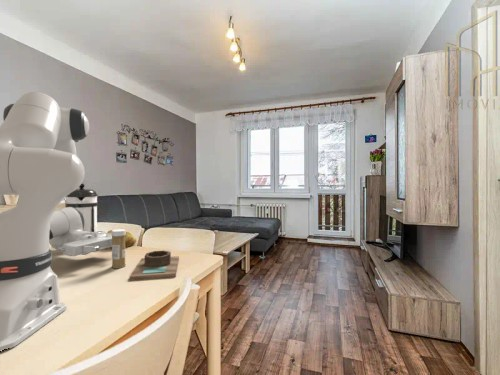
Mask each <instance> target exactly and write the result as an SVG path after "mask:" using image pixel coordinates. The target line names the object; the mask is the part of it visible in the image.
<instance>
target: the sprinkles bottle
mask: <svg viewBox="0 0 500 375" xmlns="http://www.w3.org/2000/svg"><path fill="white" fill-rule="evenodd" d="M126 232H127V231H126V229H124V228H123V229H121V228H119V229H113V231H112V249H111V259H112V261H111V262H112V263H111V264H112V265H111V268H113V269H121V268H124V267H126V247H125V235H126Z"/></svg>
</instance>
